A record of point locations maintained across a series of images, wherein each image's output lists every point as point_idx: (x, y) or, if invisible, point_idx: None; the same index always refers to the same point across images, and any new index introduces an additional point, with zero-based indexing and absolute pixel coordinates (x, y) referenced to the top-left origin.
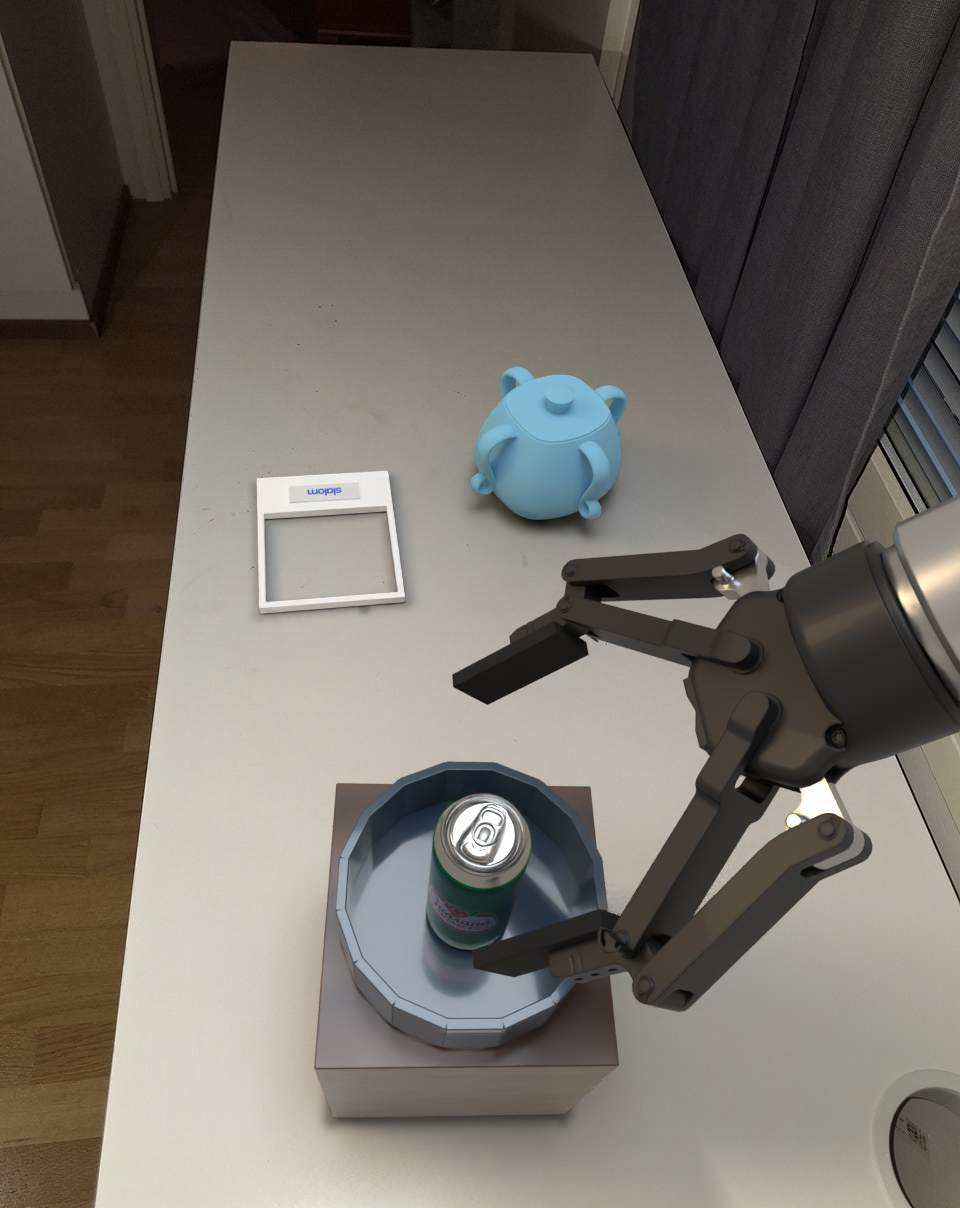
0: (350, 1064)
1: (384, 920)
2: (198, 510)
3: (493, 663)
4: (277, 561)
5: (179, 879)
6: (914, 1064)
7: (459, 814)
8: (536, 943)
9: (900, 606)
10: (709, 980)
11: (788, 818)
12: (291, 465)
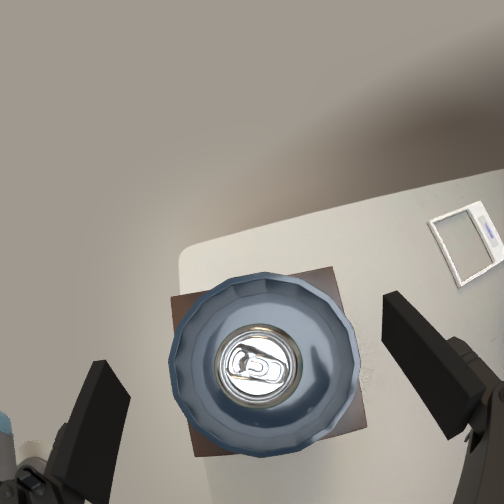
0: (173, 314)
1: (249, 316)
2: (455, 183)
3: (416, 328)
4: (452, 222)
5: (296, 231)
6: None
7: (270, 341)
8: (74, 412)
9: None
10: None
11: None
12: (491, 213)
